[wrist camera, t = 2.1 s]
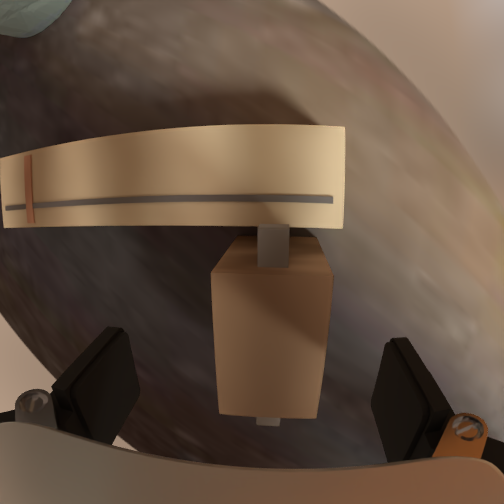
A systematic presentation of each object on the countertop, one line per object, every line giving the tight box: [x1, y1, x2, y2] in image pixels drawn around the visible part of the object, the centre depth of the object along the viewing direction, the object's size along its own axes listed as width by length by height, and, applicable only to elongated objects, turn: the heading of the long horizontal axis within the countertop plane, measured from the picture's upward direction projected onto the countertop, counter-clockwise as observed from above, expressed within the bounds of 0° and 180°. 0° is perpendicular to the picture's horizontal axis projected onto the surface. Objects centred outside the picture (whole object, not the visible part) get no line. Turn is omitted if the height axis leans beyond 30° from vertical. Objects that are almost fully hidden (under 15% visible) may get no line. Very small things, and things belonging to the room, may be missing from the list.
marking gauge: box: [211, 224, 334, 426], centre depth 16 cm, size 4×10×7 cm, turn 0°
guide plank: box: [0, 124, 345, 229], centre depth 16 cm, size 20×4×4 cm, turn 90°
